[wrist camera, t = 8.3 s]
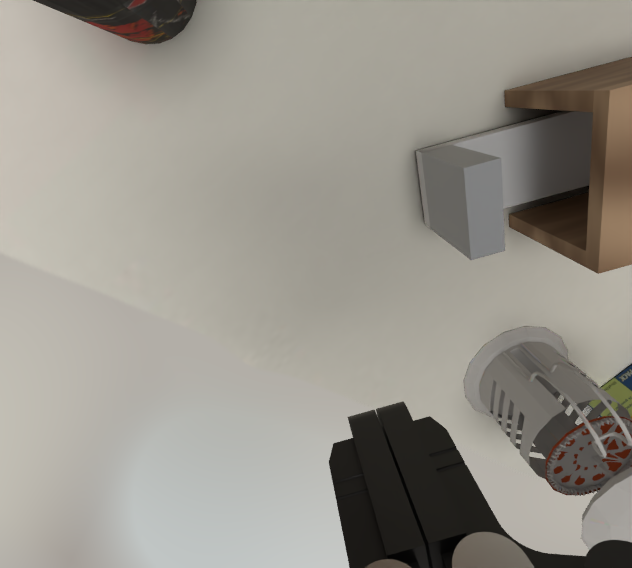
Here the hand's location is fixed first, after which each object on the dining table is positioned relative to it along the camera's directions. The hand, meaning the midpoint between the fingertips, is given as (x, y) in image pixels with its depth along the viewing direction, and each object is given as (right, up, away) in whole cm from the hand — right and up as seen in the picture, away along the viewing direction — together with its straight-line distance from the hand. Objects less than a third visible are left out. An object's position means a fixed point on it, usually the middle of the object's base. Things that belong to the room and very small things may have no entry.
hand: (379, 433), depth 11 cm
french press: (+16, -3, +27) cm, 31 cm away
